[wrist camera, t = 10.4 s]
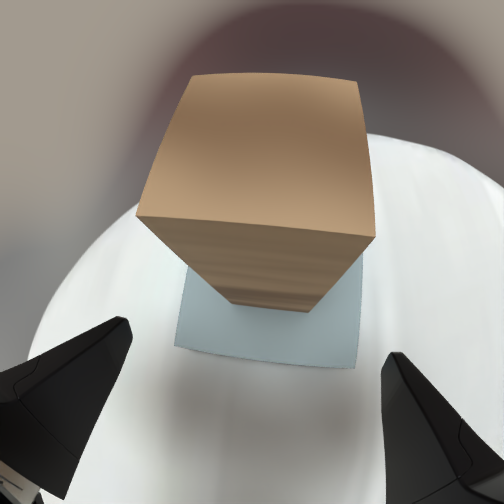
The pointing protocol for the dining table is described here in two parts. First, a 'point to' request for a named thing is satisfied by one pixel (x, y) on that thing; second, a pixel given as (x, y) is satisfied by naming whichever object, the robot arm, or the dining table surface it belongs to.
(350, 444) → the dining table surface
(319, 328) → the slate base
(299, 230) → the walnut column
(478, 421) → the dining table surface
